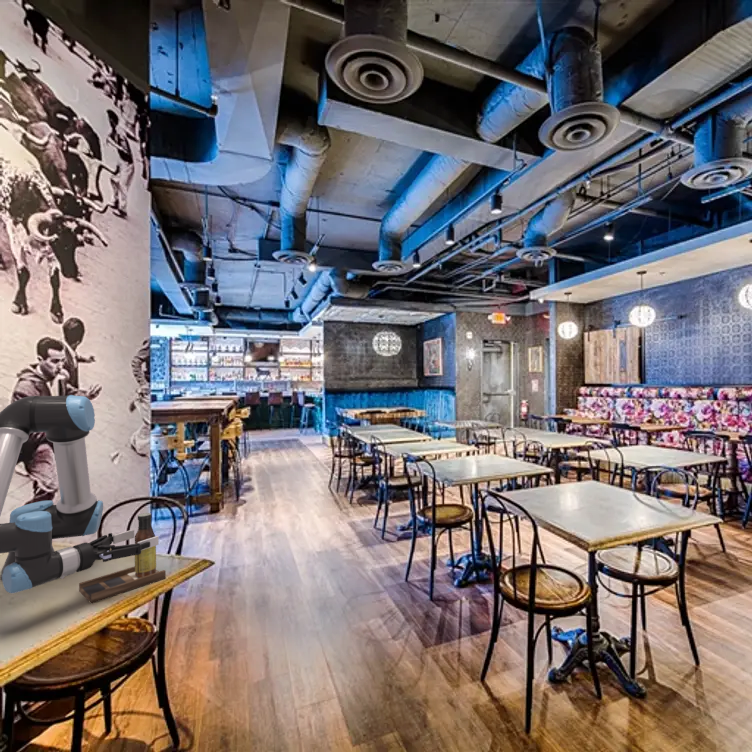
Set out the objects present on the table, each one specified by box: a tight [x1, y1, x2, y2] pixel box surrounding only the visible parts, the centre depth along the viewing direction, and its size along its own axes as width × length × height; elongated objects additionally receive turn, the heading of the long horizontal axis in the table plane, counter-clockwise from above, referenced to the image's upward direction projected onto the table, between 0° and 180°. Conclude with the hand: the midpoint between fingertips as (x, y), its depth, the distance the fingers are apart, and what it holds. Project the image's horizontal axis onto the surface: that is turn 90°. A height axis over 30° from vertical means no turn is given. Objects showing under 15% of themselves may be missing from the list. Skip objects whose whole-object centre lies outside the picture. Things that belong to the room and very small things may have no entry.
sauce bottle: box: [134, 512, 157, 578], centre depth 138 cm, size 7×6×20 cm
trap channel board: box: [78, 565, 166, 604], centre depth 133 cm, size 12×21×2 cm, turn 140°
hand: (145, 536), depth 138 cm, fingers open, 13 cm apart
